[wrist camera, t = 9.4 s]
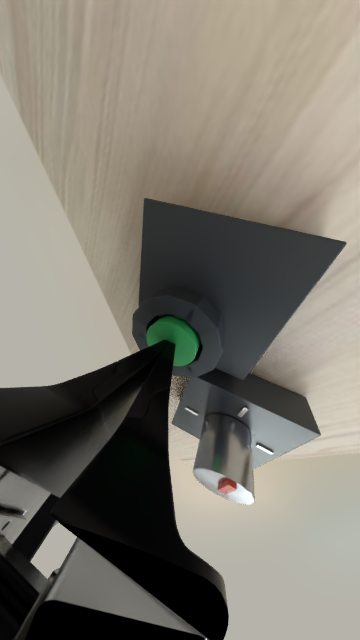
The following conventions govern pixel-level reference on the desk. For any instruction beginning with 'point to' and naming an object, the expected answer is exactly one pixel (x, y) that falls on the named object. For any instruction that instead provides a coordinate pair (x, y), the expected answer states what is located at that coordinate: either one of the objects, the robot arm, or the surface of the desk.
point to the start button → (176, 337)
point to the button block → (224, 281)
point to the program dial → (226, 459)
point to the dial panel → (249, 412)
